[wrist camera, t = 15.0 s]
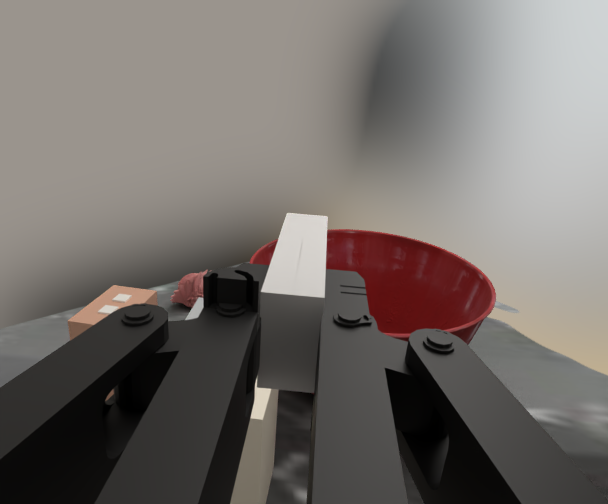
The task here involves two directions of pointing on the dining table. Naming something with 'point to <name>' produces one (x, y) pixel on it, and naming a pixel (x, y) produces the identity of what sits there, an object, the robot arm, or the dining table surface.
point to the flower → (189, 289)
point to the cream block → (257, 450)
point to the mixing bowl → (408, 282)
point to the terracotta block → (108, 308)
